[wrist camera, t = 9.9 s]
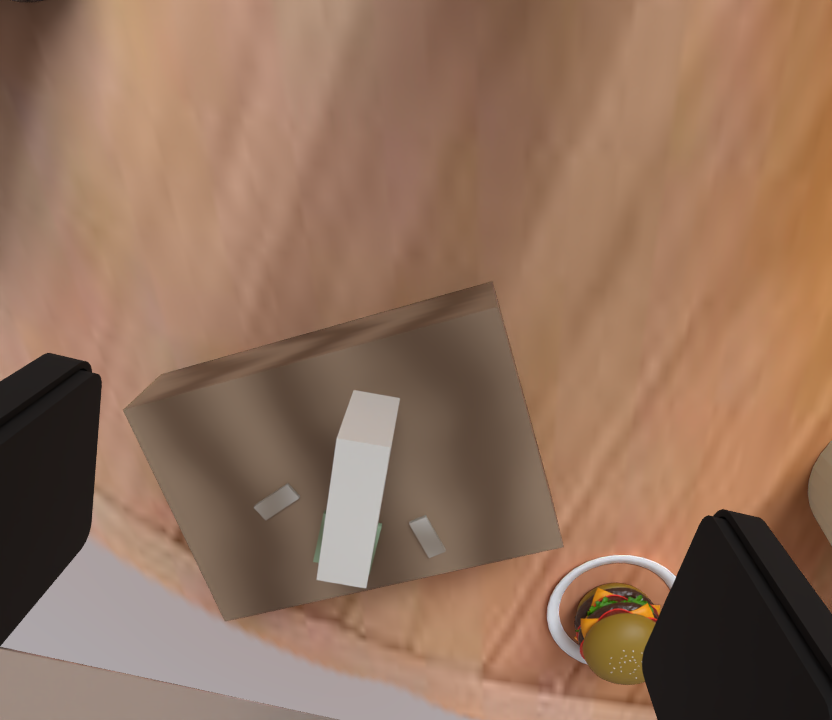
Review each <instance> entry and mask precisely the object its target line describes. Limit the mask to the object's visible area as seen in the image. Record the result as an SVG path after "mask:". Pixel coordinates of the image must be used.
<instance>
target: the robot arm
mask: <svg viewBox="0 0 832 720" xmlns="http://www.w3.org/2000/svg"><path fill="white" fill-rule="evenodd" d="M101 388H102V381H101V377H100V375H99V374H96V373H92V369H91V365H90V364H89V363H88V362H86V361H82V360H77V359H73V358H69V357H65V356H60V355H56V354H52V353H47V354H44V355H42V356H41V357H39V358H37V359H36V360H34V361H33V362H31V363H29V364H28V365H26V366H24V367H23V368H21V369H20V370H18V371H16V372H15V373H13V374H12V375H10V376H8V377H7V378H5V379H3V380H2V381H0V646H1V645H2V644H3V642H4V641H5V640H6V639H7V638H8V636H9V635H10V634H11V633H12V631H13V630H14V629H15V628H16V627H17V626H18V624H19V623H20V622H21V621H22V619H23V618H24V617H25V616H26V615H27V613H28V612H29V611H30V610H31V609H32V607H33V606H34V605H35V604H36V603H37V602H38V600H39V599H40V598H41V597H42V596H43V594H44V593H45V592H46V591H47V589H48V588H49V587H50V586H51V585H52V584H53V582H54V581H55V580H56V579H57V577H58V576H59V575H60V574H61V573H62V572H63V570H64V569H65V568H66V567H67V566H68V564H69V563H70V562H71V561H72V560H73V558H74V557H75V556H76V554H77V553H78V552H79V551H80V550H81V549H82V547H83V546H84V544H85V542H86V540H87V538H88V535H89V532H90V528H91V522H92V509H93V495H94V482H95V468H96V455H97V441H98V428H99V414H100V401H101ZM642 672H643V676H644V679H645V682H646V685H647V688H648V692H649V695H650V698H651V701H652V704H653V707H654V710H655V713H656V716H657V719H658V720H832V614H831V612H830V611H829V610H828V608H827V607H826V605H825V604H824V603H823V601H822V600H821V599H820V597H819V596H818V595H817V593H816V592H815V590H814V589H813V588H812V586H811V585H810V584H809V582H808V581H807V579H806V578H805V577H804V575H803V574H802V573H801V571H800V570H799V568H798V567H797V566H796V564H795V563H794V562H793V560H792V559H791V557H790V556H789V555H788V553H787V552H786V551H785V549H784V548H783V546H782V545H781V544H780V542H779V541H778V540H777V538H776V537H775V535H774V534H773V533H772V531H771V530H770V529H769V527H768V526H767V524H766V523H765V522H764V521H763V520H762V519H761V518H758V517H754V516H750V515H745V514H741V513H737V512H733V511H728V510H724V509H722V510H719V511H718V512H717V513H716V514H715V515H714V516H709V515H708V516H706V517H704V518H703V519H702V521H701V523H700V524H699V527H698V529H697V531H696V533H695V536H694V538H693V540H692V542H691V545H690V547H689V549H688V551H687V554H686V556H685V558H684V560H683V563H682V565H681V567H680V569H679V572H678V574H677V576H676V578H675V581H674V583H673V585H672V588H671V590H670V592H669V594H668V597H667V599H666V601H665V603H664V606H663V608H662V610H661V612H660V615H659V617H658V619H657V621H656V624H655V626H654V628H653V630H652V633H651V635H650V637H649V639H648V642H647V644H646V646H645V649H644V652H643V657H642ZM0 720H338V719H332V718H328V717H323V716H319V715H314V714H310V713H305V712H301V711H296V710H291V709H286V708H282V707H277V706H273V705H268V704H264V703H259V702H254V701H250V700H245V699H241V698H236V697H232V696H227V695H222V694H218V693H213V692H209V691H204V690H199V689H195V688H190V687H186V686H181V685H177V684H172V683H167V682H163V681H158V680H153V679H148V678H143V677H139V676H134V675H129V674H125V673H120V672H115V671H110V670H106V669H101V668H97V667H92V666H87V665H83V664H78V663H73V662H68V661H64V660H59V659H55V658H50V657H45V656H41V655H36V654H31V653H26V652H22V651H17V650H12V649H8V648H3V647H0Z"/></svg>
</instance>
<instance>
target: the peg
mask: <svg viewBox="0 0 832 720" xmlns="http://www.w3.org/2000/svg"><path fill="white" fill-rule="evenodd" d="M399 401H400V398H396V397H391V396H385V395H379V394H374V393H368V392H362V391H357V390H354V391H353V393H352V396H351V399H350V402H349V405H348V408H347V410H346V413H345V416H344V419H343V422H342V424H341V427H340V430H339V433H338V436H337V439H336V446H335V453H334V460H333V467H332V474H331V481H330V488H329V496H328V503H327V510H326V517H325V524H324V531H323V538H322V545H321V552H320V559H319V566H318V573H317V580H320V581H325V582H331V583H337V584H343V585H348V586H354V587H360V588H366V587H367V582H368V576H369V571H370V565H371V560H372V554H373V549H374V543H375V538H376V533H377V527H378V522H379V516H380V510H381V504H382V499H383V493H384V487H385V481H386V476H387V470H388V464H389V458H390V453H391V447H392V441H393V436H394V430H395V424H396V418H397V413H398V407H399Z"/></svg>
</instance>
